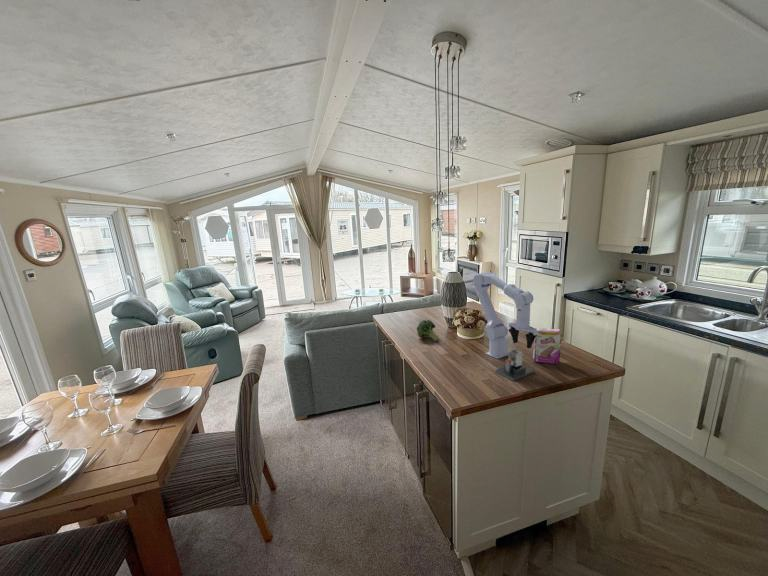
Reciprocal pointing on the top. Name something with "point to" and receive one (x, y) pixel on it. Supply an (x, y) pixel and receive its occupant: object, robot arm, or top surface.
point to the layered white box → (515, 357)
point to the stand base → (514, 371)
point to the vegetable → (426, 330)
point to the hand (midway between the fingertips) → (522, 345)
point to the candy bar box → (547, 346)
